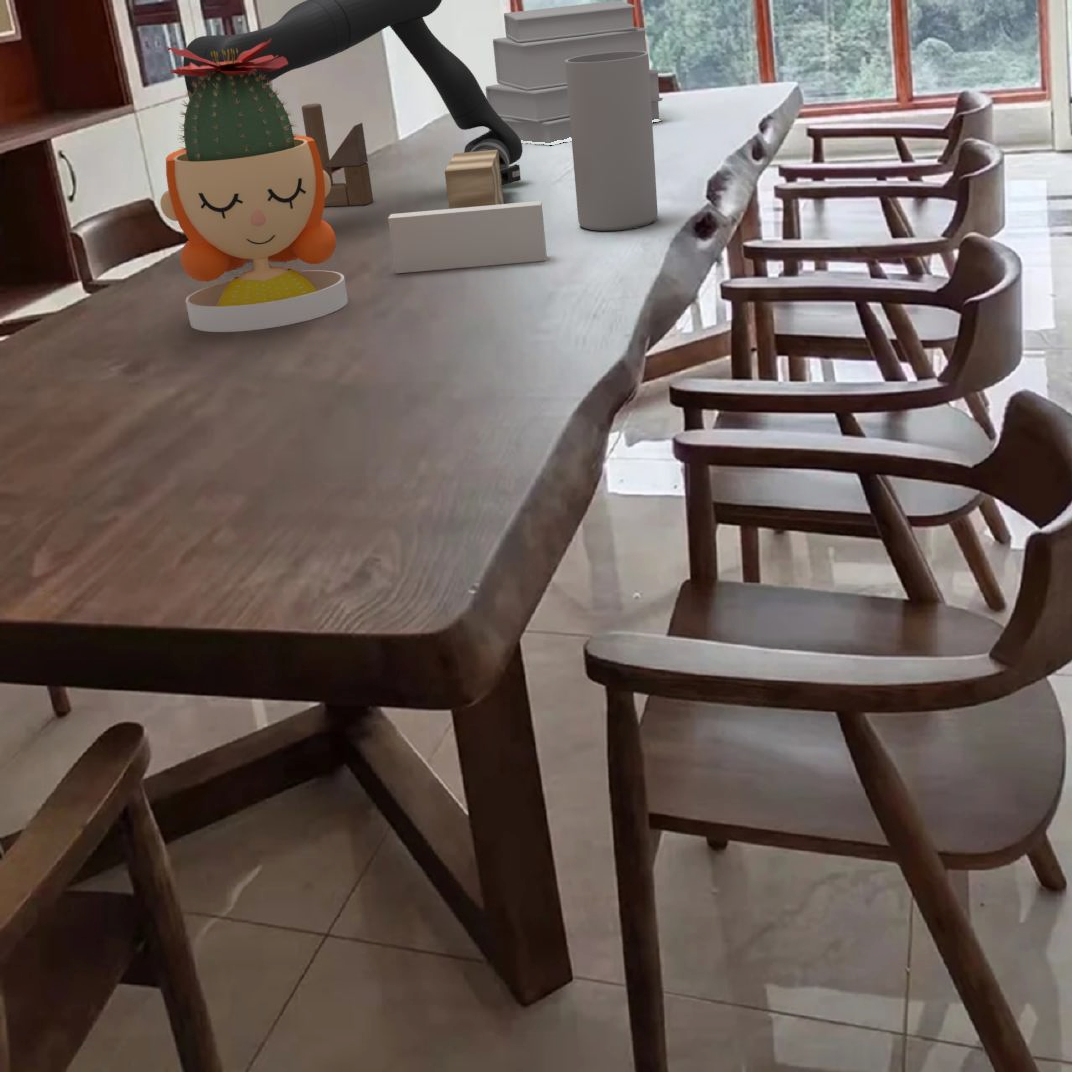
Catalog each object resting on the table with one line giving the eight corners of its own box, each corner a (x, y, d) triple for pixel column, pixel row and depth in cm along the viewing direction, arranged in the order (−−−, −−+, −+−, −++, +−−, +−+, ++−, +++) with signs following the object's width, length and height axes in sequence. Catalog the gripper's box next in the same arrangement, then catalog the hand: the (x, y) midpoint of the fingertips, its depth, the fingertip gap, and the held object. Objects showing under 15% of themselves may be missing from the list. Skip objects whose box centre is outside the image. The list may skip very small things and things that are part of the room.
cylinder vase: (615, 211, 228) (604, 51, 217) (674, 217, 219) (665, 50, 209) (562, 228, 220) (548, 62, 210) (621, 235, 211) (609, 62, 201)
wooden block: (366, 205, 254) (351, 103, 246) (312, 207, 257) (296, 107, 249) (374, 201, 257) (359, 100, 249) (321, 203, 260) (305, 103, 252)
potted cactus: (359, 312, 184) (317, 33, 170) (189, 341, 179) (131, 56, 165) (333, 279, 203) (293, 25, 189) (179, 304, 198) (126, 45, 184)
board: (398, 268, 205) (390, 214, 202) (546, 255, 204) (541, 200, 200) (395, 273, 203) (387, 218, 199) (546, 260, 201) (540, 204, 198)
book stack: (474, 140, 314) (461, 19, 304) (593, 115, 333) (584, 0, 322) (556, 149, 292) (545, 19, 281) (679, 121, 310) (673, -2, 300)
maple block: (463, 228, 228) (454, 153, 223) (505, 224, 227) (497, 149, 222) (454, 250, 213) (444, 171, 208) (499, 247, 212) (491, 167, 208)
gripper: (446, 148, 240) (436, 165, 224) (522, 141, 239) (518, 158, 223) (451, 192, 243) (441, 212, 227) (527, 185, 242) (522, 205, 226)
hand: (479, 185), depth 225 cm, fingers closed
